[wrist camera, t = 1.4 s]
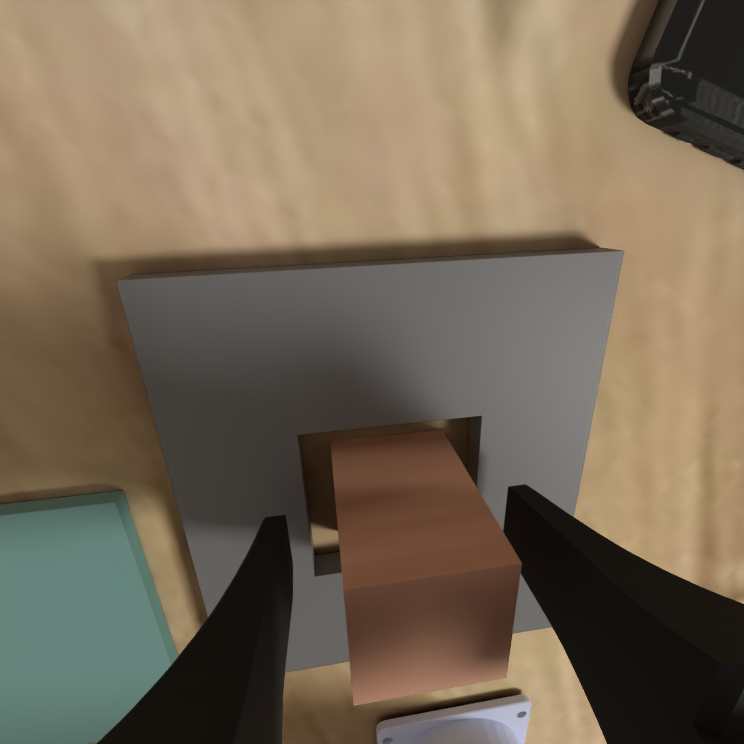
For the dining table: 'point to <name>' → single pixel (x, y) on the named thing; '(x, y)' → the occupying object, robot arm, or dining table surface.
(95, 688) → the teal mat
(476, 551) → the terracotta block
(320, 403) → the charcoal pocket board
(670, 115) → the phone
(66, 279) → the dining table surface
